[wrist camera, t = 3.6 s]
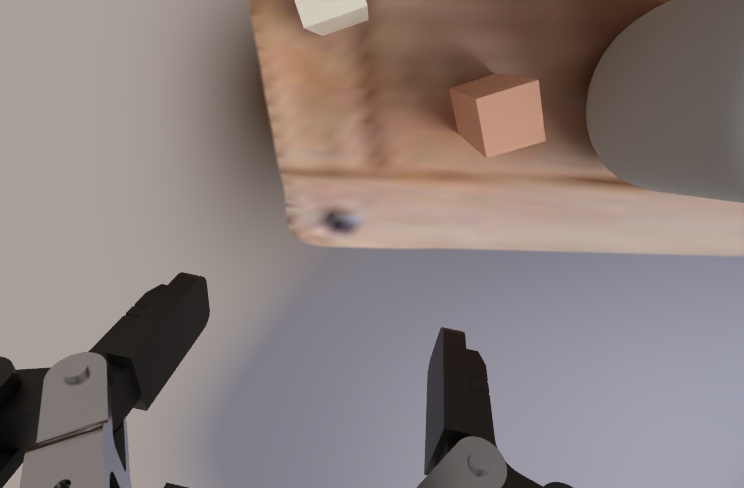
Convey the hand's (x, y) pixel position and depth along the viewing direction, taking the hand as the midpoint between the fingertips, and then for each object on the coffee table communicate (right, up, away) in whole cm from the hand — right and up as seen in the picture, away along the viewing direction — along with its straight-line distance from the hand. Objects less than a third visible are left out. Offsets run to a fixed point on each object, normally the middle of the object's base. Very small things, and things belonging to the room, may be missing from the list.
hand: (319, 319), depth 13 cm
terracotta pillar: (+11, +15, +22) cm, 29 cm away
